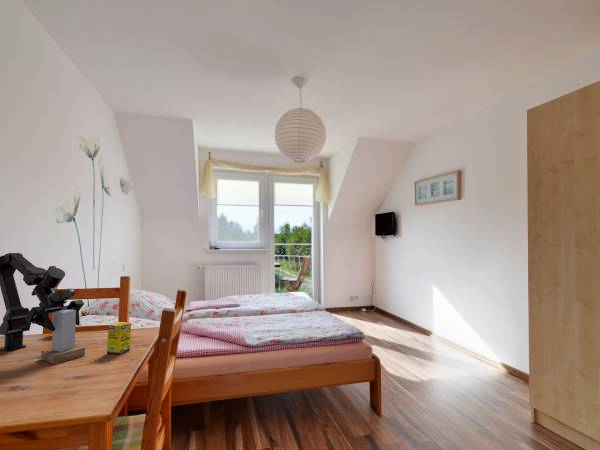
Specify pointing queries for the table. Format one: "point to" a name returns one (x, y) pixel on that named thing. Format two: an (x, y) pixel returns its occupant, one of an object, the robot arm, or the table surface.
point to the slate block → (63, 330)
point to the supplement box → (119, 338)
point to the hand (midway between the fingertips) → (67, 327)
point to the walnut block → (62, 354)
